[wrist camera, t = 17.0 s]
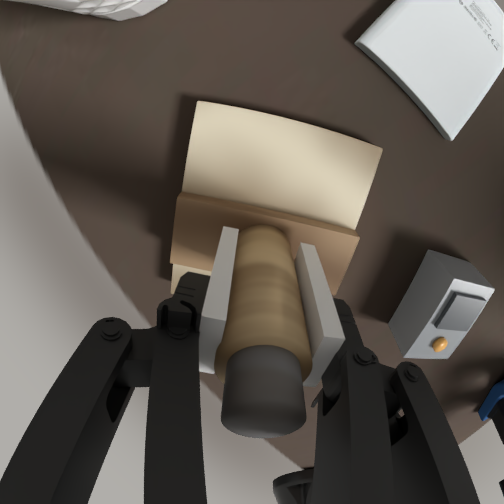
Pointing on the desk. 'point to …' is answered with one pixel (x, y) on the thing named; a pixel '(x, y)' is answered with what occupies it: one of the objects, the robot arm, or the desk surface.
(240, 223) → the panel
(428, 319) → the box
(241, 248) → the peg
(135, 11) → the white cup
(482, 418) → the handheld scanner
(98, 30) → the desk surface
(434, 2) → the external hard drive
